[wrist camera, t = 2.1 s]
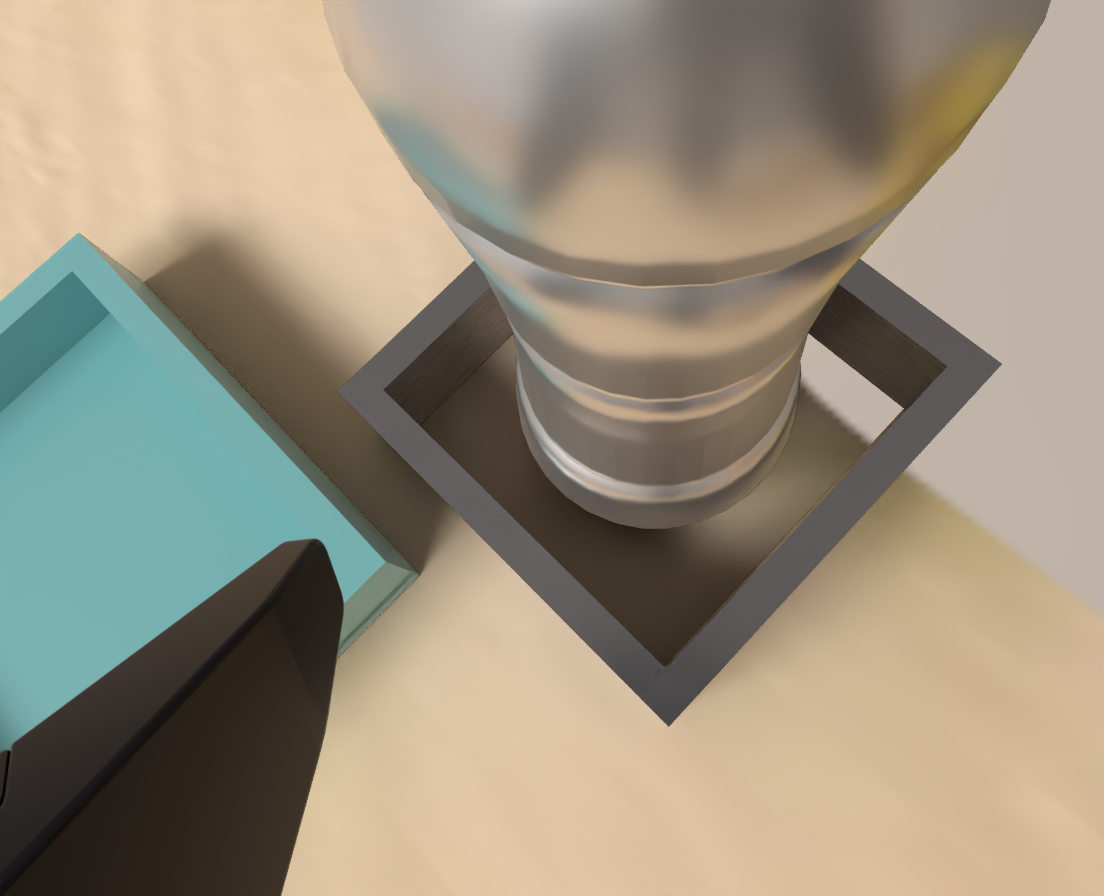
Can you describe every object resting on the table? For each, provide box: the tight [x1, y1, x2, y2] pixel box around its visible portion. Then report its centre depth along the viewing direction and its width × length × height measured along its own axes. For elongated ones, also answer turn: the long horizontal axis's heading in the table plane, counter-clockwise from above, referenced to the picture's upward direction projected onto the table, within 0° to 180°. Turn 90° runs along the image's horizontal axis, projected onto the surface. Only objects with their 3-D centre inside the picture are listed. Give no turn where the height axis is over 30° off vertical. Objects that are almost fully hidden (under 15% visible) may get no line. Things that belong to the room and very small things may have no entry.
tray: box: [0, 233, 419, 752], centre depth 20 cm, size 13×13×3 cm
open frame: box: [337, 259, 1001, 727], centre depth 19 cm, size 11×11×3 cm
